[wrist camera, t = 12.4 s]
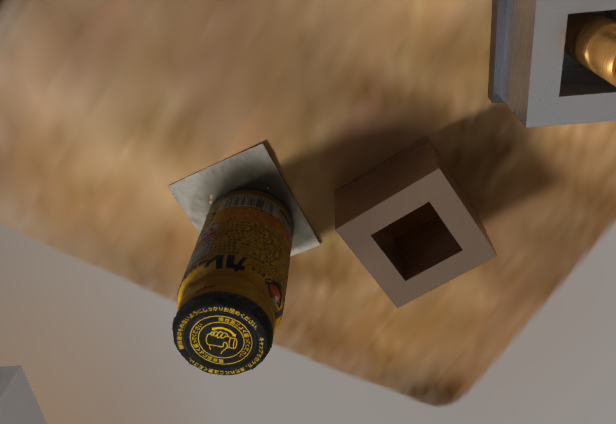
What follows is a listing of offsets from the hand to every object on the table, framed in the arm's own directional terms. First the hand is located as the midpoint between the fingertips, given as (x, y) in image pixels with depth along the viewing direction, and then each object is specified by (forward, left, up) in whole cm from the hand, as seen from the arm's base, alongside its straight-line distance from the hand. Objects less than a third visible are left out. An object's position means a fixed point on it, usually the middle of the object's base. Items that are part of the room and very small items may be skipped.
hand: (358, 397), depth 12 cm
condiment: (+10, -7, -27) cm, 30 cm away
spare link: (+10, +4, -27) cm, 29 cm away
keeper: (-1, +13, -27) cm, 30 cm away
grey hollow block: (-1, +13, -26) cm, 29 cm away
